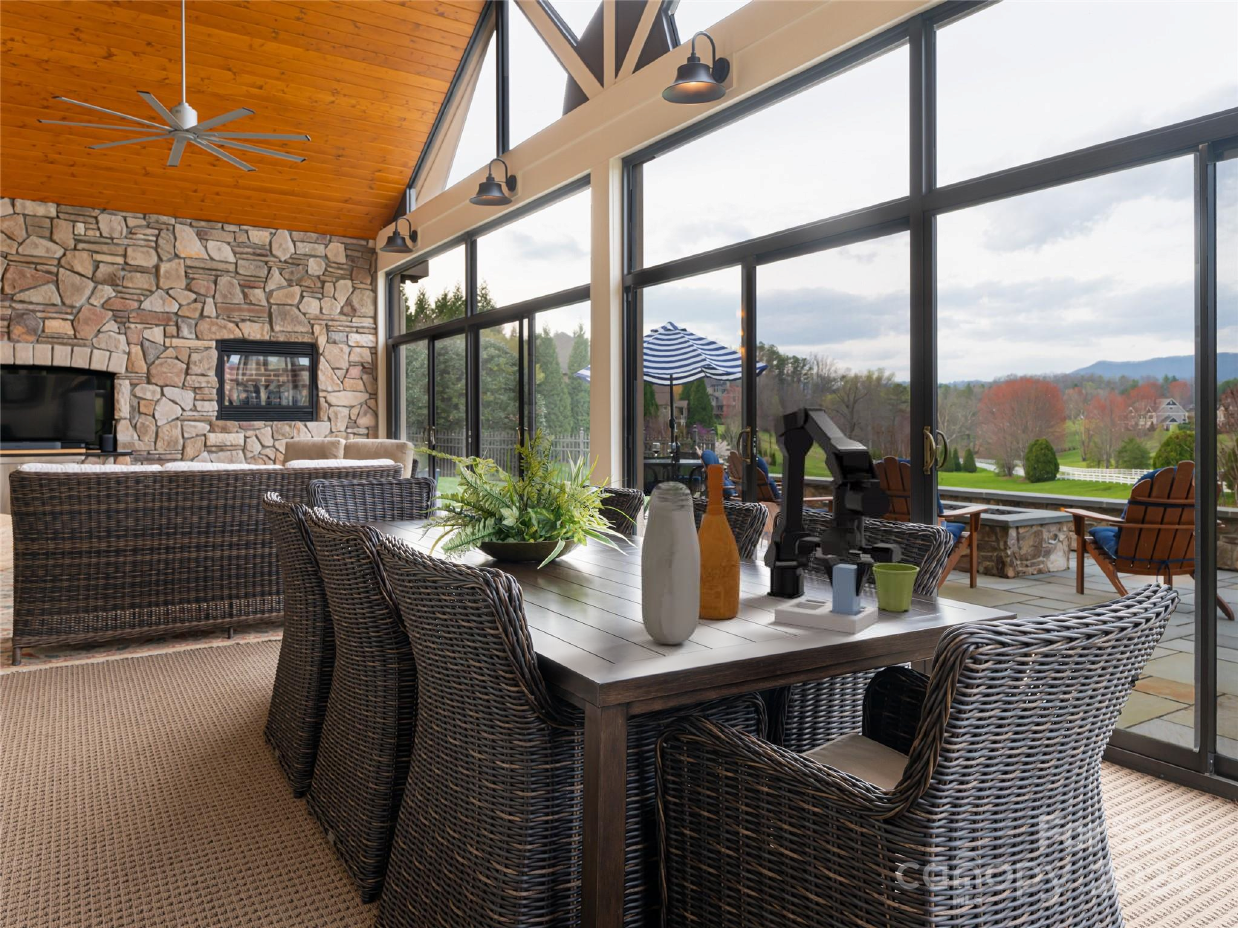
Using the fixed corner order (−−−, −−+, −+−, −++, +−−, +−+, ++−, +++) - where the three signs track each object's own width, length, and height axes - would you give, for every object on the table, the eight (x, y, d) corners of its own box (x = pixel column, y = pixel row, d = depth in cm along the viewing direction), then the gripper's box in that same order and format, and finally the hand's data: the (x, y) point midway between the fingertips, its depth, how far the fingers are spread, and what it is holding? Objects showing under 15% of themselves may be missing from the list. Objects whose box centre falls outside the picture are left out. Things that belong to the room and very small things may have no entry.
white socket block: (774, 621, 165) (774, 607, 165) (799, 610, 175) (800, 597, 175) (855, 633, 156) (855, 618, 156) (877, 621, 166) (878, 607, 166)
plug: (832, 613, 163) (832, 566, 162) (841, 609, 167) (842, 563, 166) (852, 616, 160) (853, 568, 160) (861, 612, 164) (862, 565, 164)
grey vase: (704, 649, 145) (705, 483, 144) (643, 650, 144) (644, 483, 143) (694, 634, 155) (695, 479, 154) (638, 635, 154) (638, 479, 153)
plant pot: (921, 614, 172) (922, 571, 171) (872, 612, 173) (873, 570, 173) (914, 605, 181) (915, 564, 180) (868, 603, 183) (869, 562, 182)
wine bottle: (743, 611, 174) (745, 463, 172) (734, 622, 164) (735, 465, 163) (696, 608, 177) (697, 462, 175) (684, 618, 168) (685, 464, 166)
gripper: (784, 513, 161) (783, 595, 162) (883, 520, 150) (881, 608, 151) (807, 508, 170) (806, 586, 171) (902, 514, 159) (901, 598, 160)
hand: (846, 594), depth 163 cm, fingers closed on plug, 4 cm apart
